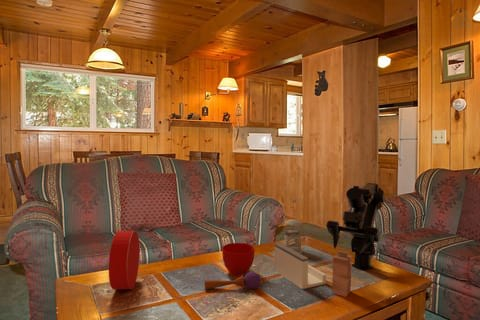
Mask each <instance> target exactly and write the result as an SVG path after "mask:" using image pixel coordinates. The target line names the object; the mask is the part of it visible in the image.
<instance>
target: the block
mask: <svg viewBox="0 0 480 320" xmlns="http://www.w3.org/2000/svg"><path fill="white" fill-rule="evenodd" d="M352 259H353V256H352V255H350V254H349V253H348V252H347V251H341V250H338V251H337V253H336V254H335V255H334V256H333V257H332V277H331V278H332V282H331V286H332V287H331V294H334V295H338V296H342V297H346V298H347V296H348V295H349V294H350V293H351V286H352V285H351V284H352V264H353V263H352V262H353V260H352Z"/></svg>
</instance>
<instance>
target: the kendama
mask: <svg viewBox="0 0 480 320" xmlns="http://www.w3.org/2000/svg"><path fill="white" fill-rule="evenodd" d="M261 282H262V280H261V277H260V274H258V273H257V272H255V271H249V272H246V274H244V276H243V275H240V276H239V277H238V278H235V279H234V280H215V279H214V280H210V279H207V280H206V279H205V280H204V290H205V291H207V290H212V289H216V288H221V287H227V286H231V285H235V286H238V287H241V288H245V287H246V288H247V289H249V290H256V289H258V287H259V286H260V285H261Z"/></svg>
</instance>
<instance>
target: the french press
mask: <svg viewBox="0 0 480 320" xmlns="http://www.w3.org/2000/svg"><path fill="white" fill-rule="evenodd" d="M291 203H293V206H292V207H293V208H292V209H293V210H292V217H294V215H295V214H294V213H295V211H294V209H295V203H296V200H295V199H291ZM302 223H303V222H301V221H300V220H298V219H294V218H292V219H288V220H285V221H284V224H285V225H287V226H291V227H298V226H300V228H303V229H304V230H305V233H306V234H305V237H304V238H302V234H301V230H299V229H295V228H289V229H285V233H284V243H283V245H284V246H286V247H288V248H290V249H292V250H294V251H296V252H298V253H299V254H302V253H303V252H304V251H303V249H302V242H304V241H306V239H307V238H308V231H307V229H306V227H305V226H304V225H302Z"/></svg>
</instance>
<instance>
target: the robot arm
mask: <svg viewBox="0 0 480 320" xmlns="http://www.w3.org/2000/svg"><path fill="white" fill-rule="evenodd" d="M345 195H346V198H347V202H348V205H349V206H350V209H349V211H347V210H344V211H343V215H342V221H343V224H344V225H340V224H339V222H338V221H335V220H328V221H326V224H325V226H326V229H327V231H328V233H329V234H331V236H332V239H333V249H335V250H336V248H337V246H338V242H339V239H340V233H341V232H343V233H344V232H345V233H351V234H353V237H352V238H351V241H350V246H351V253H354V262H353V263H352V264H351V267H355V268H357V269H360V270H361V271H368V270H372V269H373V268H374V265H371V261H372V259H371V258H372V257H373V256H376V247H375V242H377V243H378V242H379V241H380V237H381V236H380V231H379V229H378V227H376V226H374V223H375V219H376V215H377V212H378V211H379V210H380V209H382V208H383V205H384V203H386V200H385V199H386V196H385V192H384V190H383V189H382V188H380V185H379V183H378V184H377V183H374V182H373V183H371V182H367V183H366V184H365V185H364V186H363V187H360V186H359V185H353V187H352V188H349V189H348V190H347V191H346V193H345Z"/></svg>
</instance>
